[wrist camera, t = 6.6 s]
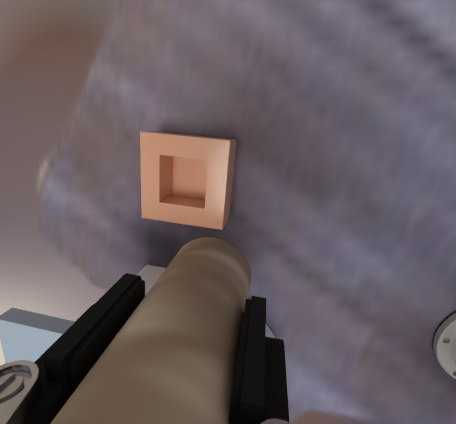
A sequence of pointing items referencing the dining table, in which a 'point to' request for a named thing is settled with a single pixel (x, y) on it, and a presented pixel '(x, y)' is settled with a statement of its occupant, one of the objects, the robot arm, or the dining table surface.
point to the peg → (173, 346)
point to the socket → (187, 178)
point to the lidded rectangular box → (45, 326)
